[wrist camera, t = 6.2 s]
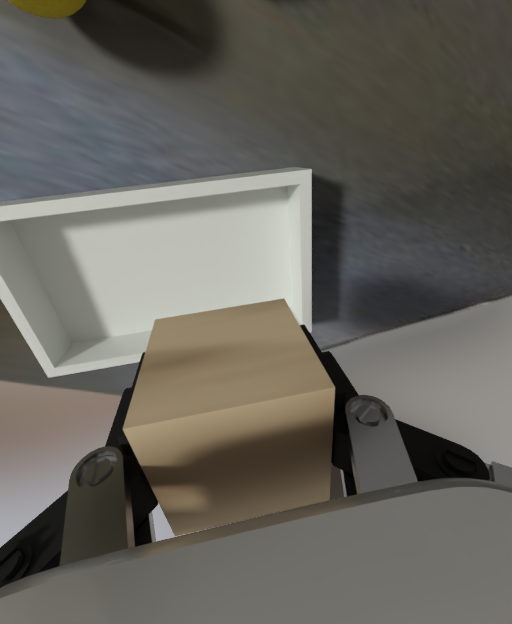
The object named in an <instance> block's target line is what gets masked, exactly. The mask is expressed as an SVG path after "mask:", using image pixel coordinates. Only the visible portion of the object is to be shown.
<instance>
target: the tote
mask: <svg viewBox="0 0 512 624" xmlns="http://www.w3.org/2000/svg"><path fill="white" fill-rule="evenodd" d="M283 298H284V299H285V301H286V303H287V304H288V306H289V308H290V310H291V311H292V313H293V315H294V317H295V318H296V320H297V322H298V323H299V325H303V324H304V325H305V326H306V328H307V329H308V331H309V332H312V169H307V168H298V167H291V168H282V169H274V170H265V171H257V172H248V173H240V174H231V175H223V176H215V177H206V178H198V179H189V180H181V181H172V182H164V183H156V184H147V185H139V186H130V187H122V188H113V189H105V190H96V191H88V192H80V193H71V194H63V195H54V196H46V197H37V198H29V199H20V200H12V201H4V202H0V299H1V300H2V302H3V304H4V305H5V307H6V308H7V310H8V312H9V313H10V315H11V317H12V318H13V320H14V322H15V323H16V325H17V327H18V328H19V330H20V332H21V333H22V335H23V337H24V338H25V340H26V341H27V343H28V345H29V346H30V348H31V350H32V351H33V353H34V355H35V356H36V358H37V360H38V361H39V363H40V365H41V366H42V368H43V370H44V371H45V373H46V375H47V376H48V378H49V377H55V376H61V375H66V374H72V373H78V372H84V371H89V370H95V369H101V368H107V367H113V366H118V365H124V364H130V363H136V362H140V359H141V356H142V353H143V352H146V349H147V345H148V342H149V338H150V335H151V332H152V328H153V325H154V322H155V319H161V318H167V317H173V316H179V315H185V314H191V313H198V312H204V311H210V310H216V309H222V308H228V307H234V306H240V305H246V304H253V303H259V302H265V301H271V300H277V299H283Z"/></svg>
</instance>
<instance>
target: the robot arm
mask: <svg viewBox="0 0 512 624" xmlns="http://www.w3.org/2000/svg"><path fill="white" fill-rule="evenodd" d="M300 327H301V329H302V330H303V332H304V334H305V336H306V337H307V339H308V341H309V343H310V344H311V346H312V348H313V350H314V351H315V353H316V355H317V357H318V358H319V360H320V362H321V364H322V365H323V367H324V369H325V370H326V372H327V374H328V376H329V377H330V379H331V381H332V383H333V384H334V386H335V400H334V419H333V439H332V458H331V463H332V464H333V465H334V466H335V467H337V468H339V469H341V476H342V483H343V490H344V498H340V499H335V500H331V501H326V502H322V503H318V504H313V505H309V506H305V507H300V508H296V509H292V510H287V511H283V512H279V513H275V514H270V515H266V516H262V517H258V518H253V519H249V520H245V521H241V522H237V523H232V524H228V525H224V526H220V527H215V528H211V529H207V530H203V531H199V532H194V533H190V534H186V535H182V536H178V537H174V538H170V539H165V540H161V541H157V542H156V538H155V530H154V524H153V516H152V510H153V509H154V508H155V507H156V506H157V505H158V500H157V498H156V496H155V494H154V492H153V490H152V488H151V486H150V484H149V482H148V480H147V478H146V476H145V474H144V472H143V470H142V468H141V466H140V464H139V462H138V460H137V458H136V456H135V453H134V451H133V449H132V447H131V445H130V443H129V441H128V439H127V437H126V435H125V433H124V431H123V426H124V423H125V419H126V416H127V413H128V409H129V406H130V402H131V399H132V396H133V392H134V389H135V386H136V382H137V379H138V375H139V372H140V369H141V365H142V362H143V359H144V355H145V352H143V353H142V356H141V359H140V363H139V366H138V369H137V372H136V376H135V379H134V382H133V385H132V387H131V388H126V389H125V390H124V392H123V395H122V398H121V401H120V404H119V407H118V410H117V413H116V416H115V419H114V422H113V425H112V428H111V431H110V434H109V436H108V440H107V442H106V445H105V447H102V448H98V449H96V450H94V451H92V452H90V453H89V454H88V455H86V456H85V457H84V458H82V459H81V460H80V462H79V463H78V464H77V465H76V466H75V468H74V470H73V471H72V473H71V476H70V480H69V488H68V491H67V492H65V493H64V494H63V495H62V496H61V497H59V499H57V500H56V501H55V502H54V503H52V504H51V505H50V506H49V507H48V508H47V509H45V510H44V511H43V512H42V513H41V514H39V515H38V516H37V517H36V518H35V519H34V520H32V521H31V522H30V523H29V524H28V525H27V526H25V527H24V528H23V529H22V530H21V531H20V532H18V533H17V534H16V535H15V536H14V537H12V538H11V539H10V540H9V541H8V542H7V543H6V544H4V545H3V546H2V547H1V548H0V624H512V468H511V467H508V466H505V465H502V464H499V463H496V462H493V461H492V463H491V464H486V463H484V462H483V461H482V460H481V459H480V458H479V456H478V455H476V454H475V453H473V452H472V451H471V450H469V449H467V448H465V447H463V446H461V445H459V444H457V443H454V442H452V441H449V440H447V439H444V438H441V437H439V436H436V435H434V434H431V433H429V432H426V431H424V430H421V429H419V428H416V427H413V426H411V425H408V424H406V423H403V422H401V421H398V420H396V419H395V418H394V415H393V413H392V411H391V409H390V407H389V406H388V405H387V404H386V403H385V402H383V401H382V400H380V399H378V398H376V397H373V396H368V395H360V396H359V395H358V393H357V392H356V391H355V389H354V387H353V386H352V384H351V383H350V381H349V380H348V378H347V377H346V375H345V373H344V372H343V370H342V369H341V367H340V366H339V364H338V363H337V361H336V360H335V358H334V357H333V355H332V354H331V353H330V352H329V351H327V352H321V351H320V349H319V347H318V346H317V344H316V342H315V341H314V339H313V337H312V336H311V334H310V333H309V331H308V329H307V328H306V326H305V325H304V324H303V325H300Z"/></svg>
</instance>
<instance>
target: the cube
mask: <svg viewBox="0 0 512 624" xmlns="http://www.w3.org/2000/svg"><path fill="white" fill-rule="evenodd" d="M334 400H335V386H334V384H333V383H332V381H331V379H330V377H329V376H328V374H327V372H326V370H325V369H324V367H323V365H322V364H321V362H320V360H319V358H318V357H317V355H316V353H315V351H314V350H313V348H312V346H311V344H310V343H309V341H308V339H307V337H306V336H305V334H304V332H303V330H302V329H301V327H300V325H299V323H298V322H297V320H296V318H295V317H294V315H293V313H292V311H291V310H290V308H289V306H288V304H287V303H286V301H285V299H284V298H283V299H277V300H271V301H265V302H259V303H253V304H246V305H240V306H234V307H228V308H222V309H216V310H210V311H204V312H198V313H191V314H185V315H179V316H173V317H167V318H161V319H155V322H154V325H153V328H152V332H151V335H150V338H149V342H148V345H147V349H146V352H145V355H144V359H143V362H142V365H141V369H140V372H139V375H138V379H137V382H136V386H135V389H134V392H133V396H132V399H131V402H130V406H129V409H128V413H127V416H126V419H125V423H124V426H123V431H124V433H125V435H126V437H127V439H128V441H129V443H130V445H131V447H132V449H133V451H134V453H135V456H136V458H137V460H138V462H139V464H140V466H141V468H142V470H143V472H144V474H145V476H146V478H147V480H148V482H149V484H150V486H151V488H152V490H153V492H154V494H155V496H156V498H157V500H158V502H159V504H160V506H161V508H162V510H163V512H164V514H165V517H166V518H167V521H168V523H169V525H170V526H171V529H172V531H173V533H174V535H175V536H178V535H183V534H187V533H191V532H195V531H200V530H204V529H208V528H212V527H217V526H221V525H225V524H229V523H233V522H238V521H242V520H246V519H251V518H255V517H259V516H263V515H268V514H272V513H276V512H280V511H285V510H289V509H293V508H297V507H302V506H305V505H310V504H314V503H319V502H323V501H327V500H329V495H330V478H331V458H332V439H333V419H334Z"/></svg>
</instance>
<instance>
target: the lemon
mask: <svg viewBox="0 0 512 624" xmlns="http://www.w3.org/2000/svg"><path fill="white" fill-rule="evenodd" d="M7 1H8V2H10V3H12V4H13V5H15V6H16V7H18V8H20V9H21V10H23V11H26V12H29V13H31V14H34V15H37V16H40V17H43V18H59V19H60V18H63V17H67V16H70V15H73V14H74V13H75V12H77V11H78V10H79V9H80V8H82V7H83V5H84V3H85V2H86V0H7Z"/></svg>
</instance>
